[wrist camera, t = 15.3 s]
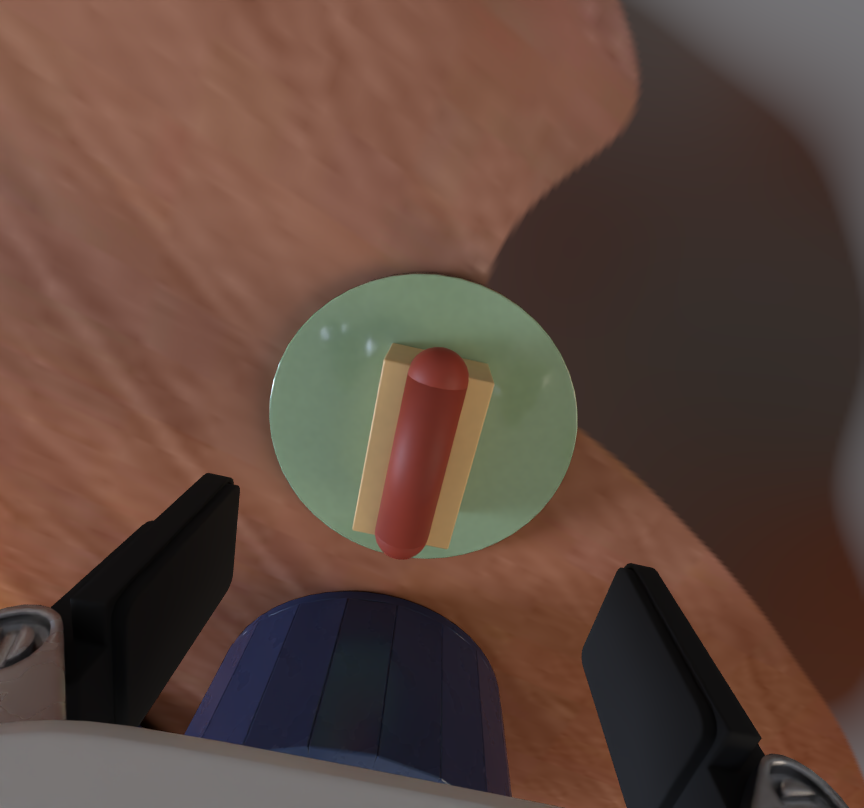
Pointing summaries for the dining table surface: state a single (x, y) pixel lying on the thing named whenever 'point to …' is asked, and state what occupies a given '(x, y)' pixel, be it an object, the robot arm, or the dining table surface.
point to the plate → (358, 386)
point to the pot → (362, 691)
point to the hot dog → (421, 447)
